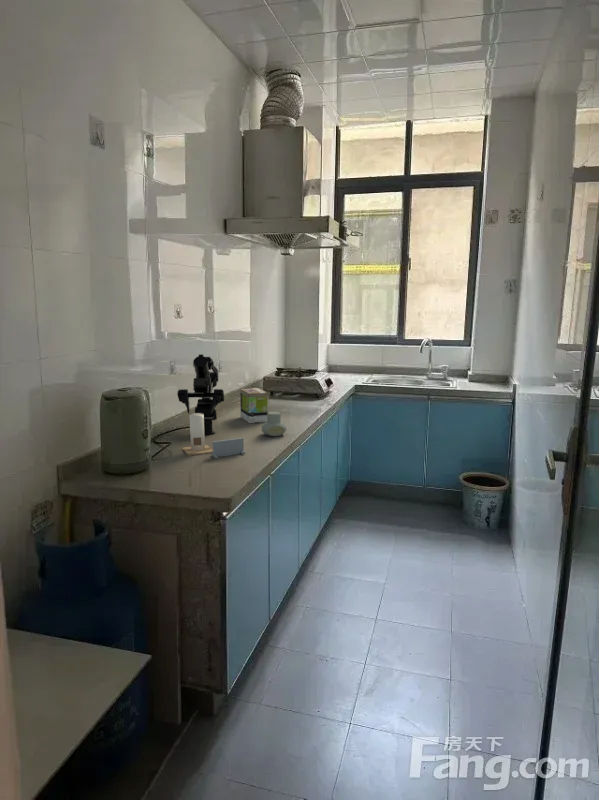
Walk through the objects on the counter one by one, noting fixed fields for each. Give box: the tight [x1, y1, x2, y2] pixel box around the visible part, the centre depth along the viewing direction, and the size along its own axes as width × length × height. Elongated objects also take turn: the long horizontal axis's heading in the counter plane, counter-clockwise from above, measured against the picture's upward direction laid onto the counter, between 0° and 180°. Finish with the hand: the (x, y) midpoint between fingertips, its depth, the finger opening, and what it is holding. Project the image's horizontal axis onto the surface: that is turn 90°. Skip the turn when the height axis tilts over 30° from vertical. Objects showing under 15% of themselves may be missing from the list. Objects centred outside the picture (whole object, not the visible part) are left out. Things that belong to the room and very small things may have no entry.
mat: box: [182, 444, 213, 457], centre depth 212 cm, size 10×10×1 cm
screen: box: [211, 437, 246, 459], centre depth 207 cm, size 4×12×6 cm, turn 117°
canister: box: [188, 412, 206, 451], centre depth 211 cm, size 6×6×14 cm
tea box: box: [239, 387, 269, 424], centre depth 264 cm, size 15×10×15 cm, turn 22°
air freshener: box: [261, 411, 287, 437], centre depth 236 cm, size 11×8×10 cm
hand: (199, 412), depth 218 cm, fingers open, 9 cm apart
